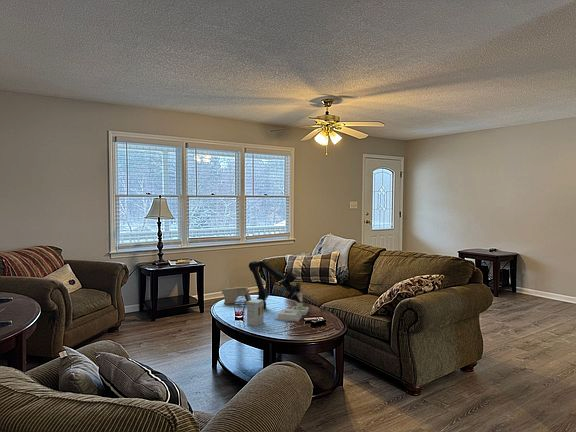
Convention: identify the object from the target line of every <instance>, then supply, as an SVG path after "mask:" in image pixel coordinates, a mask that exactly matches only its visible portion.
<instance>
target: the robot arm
mask: <svg viewBox="0 0 576 432" xmlns="http://www.w3.org/2000/svg"><path fill="white" fill-rule="evenodd" d="M248 268H249V270H250V272H251V273H252V274H253V277H254V280H255V284H256V286H257V290H258V291H257V292H258V293H257V295H258V297H257V298H256V299H258V300H264V310H265V309H267V300H268V299H267V298H269V291H268V289H267V288H265V287H264V284H263V280H262V278H261V275H260V272H259V270H260V269H259V268H263V269H264V270H266V271H267V273H270V274H271V276H273V279H274V280H276V282H278V283H279V284H278V286H279V287H281V286H282V287H283V288H284V289H285V291H286V292H287V293H288V295H286V298H287V300H293V301H295V302H296V303H297V302H299V303H300V300H299V299H298V297H297V293H301V290H302V288H301V287H302V284H301V283H299V282H295V281H296V280H297V277H298V276H297V275H296V274H295V273H293V272H292V271H290V272H289V273H288V274H284V273H282V272H281V271H278V270H277V269H275V268H274V267H272V266H271V265H270V264H268V263H267V262H266V261H265V260H261V261H255V260H253V261H251V262H249V264H248ZM293 282H295V283H296V284H295V285H294V284H291V283H293Z"/></svg>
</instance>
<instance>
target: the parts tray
mask: <svg viewBox="0 0 576 432" xmlns="http://www.w3.org/2000/svg"><path fill="white" fill-rule="evenodd" d="M296 307H297V305H296V306H295V305H294V306H292V308H291V310H296ZM302 307H303V310H299V314H300V315H302V316H307V314H308V313H309V306H302Z"/></svg>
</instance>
